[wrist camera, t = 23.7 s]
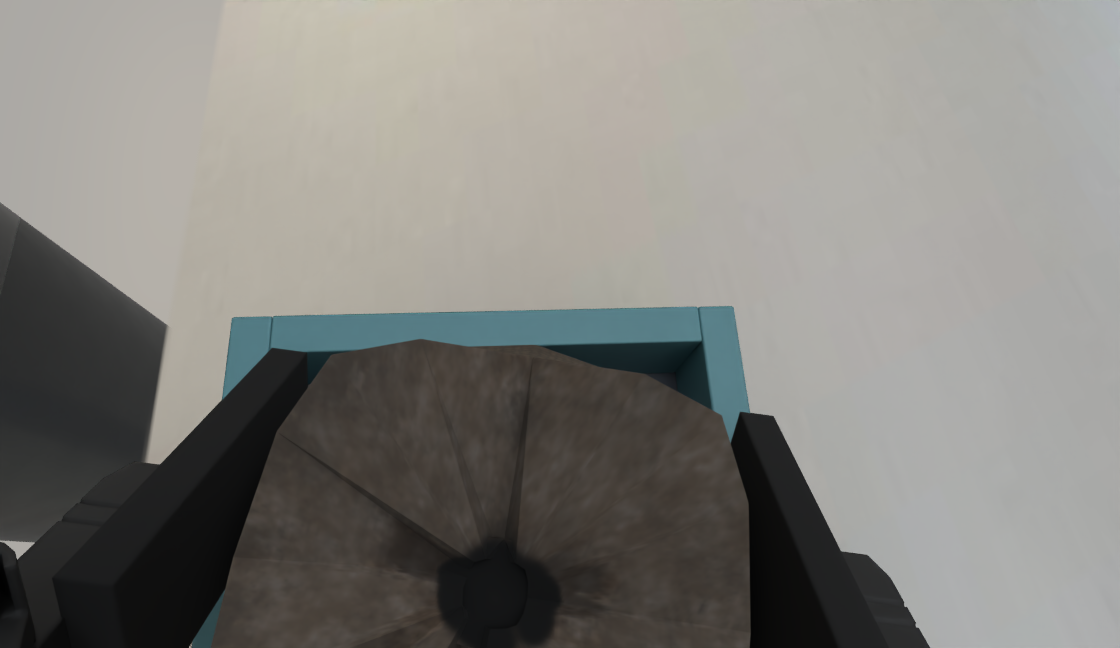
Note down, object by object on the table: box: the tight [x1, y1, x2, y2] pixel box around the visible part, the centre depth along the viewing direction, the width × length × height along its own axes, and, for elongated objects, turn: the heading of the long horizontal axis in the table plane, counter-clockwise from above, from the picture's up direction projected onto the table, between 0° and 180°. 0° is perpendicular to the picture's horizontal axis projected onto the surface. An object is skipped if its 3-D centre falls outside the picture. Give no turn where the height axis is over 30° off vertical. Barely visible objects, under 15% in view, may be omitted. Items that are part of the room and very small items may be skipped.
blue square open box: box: [192, 306, 750, 648], centre depth 19 cm, size 13×13×9 cm
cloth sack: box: [211, 339, 751, 648], centre depth 12 cm, size 10×10×12 cm
